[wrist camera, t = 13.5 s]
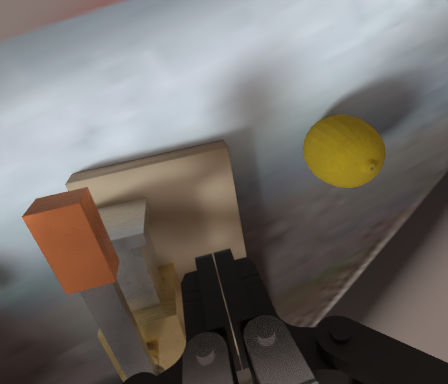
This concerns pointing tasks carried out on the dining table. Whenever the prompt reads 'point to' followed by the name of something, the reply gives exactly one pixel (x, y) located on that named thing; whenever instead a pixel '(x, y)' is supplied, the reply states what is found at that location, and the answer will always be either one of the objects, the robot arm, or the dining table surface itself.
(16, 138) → the dining table surface
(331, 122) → the lemon
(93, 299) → the valve lever
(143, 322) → the pipe valve
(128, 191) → the valve board
